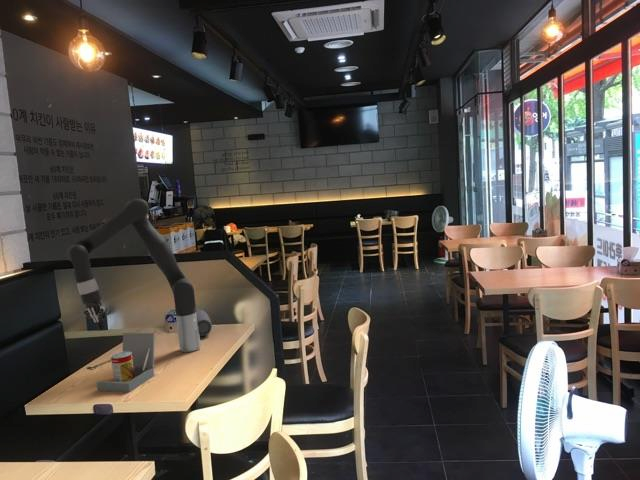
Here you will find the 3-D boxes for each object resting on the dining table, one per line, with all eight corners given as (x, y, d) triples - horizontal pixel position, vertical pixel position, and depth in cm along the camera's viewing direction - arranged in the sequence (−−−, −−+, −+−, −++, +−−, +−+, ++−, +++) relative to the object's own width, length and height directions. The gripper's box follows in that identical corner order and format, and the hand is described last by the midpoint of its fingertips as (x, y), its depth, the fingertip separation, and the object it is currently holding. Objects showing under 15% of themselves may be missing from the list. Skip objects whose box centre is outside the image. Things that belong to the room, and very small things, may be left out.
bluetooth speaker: (191, 328, 284) (189, 310, 283) (209, 325, 287) (207, 307, 286) (195, 339, 263) (192, 320, 262) (213, 336, 266) (211, 317, 264)
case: (97, 390, 207) (91, 348, 205) (129, 371, 226) (124, 332, 223) (129, 392, 202) (123, 349, 200) (160, 372, 221) (154, 332, 219)
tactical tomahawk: (95, 373, 231) (94, 370, 230) (86, 369, 234) (86, 367, 234) (135, 356, 247) (135, 354, 247) (126, 353, 251) (126, 351, 251)
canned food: (139, 379, 214) (135, 351, 213) (126, 387, 207) (121, 358, 206) (124, 378, 217) (120, 350, 216) (110, 386, 210) (106, 357, 209)
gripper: (106, 286, 221) (118, 325, 223) (86, 290, 227) (99, 327, 229) (91, 292, 214) (104, 332, 216) (71, 295, 221) (84, 334, 223)
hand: (101, 329), depth 223 cm, fingers closed
